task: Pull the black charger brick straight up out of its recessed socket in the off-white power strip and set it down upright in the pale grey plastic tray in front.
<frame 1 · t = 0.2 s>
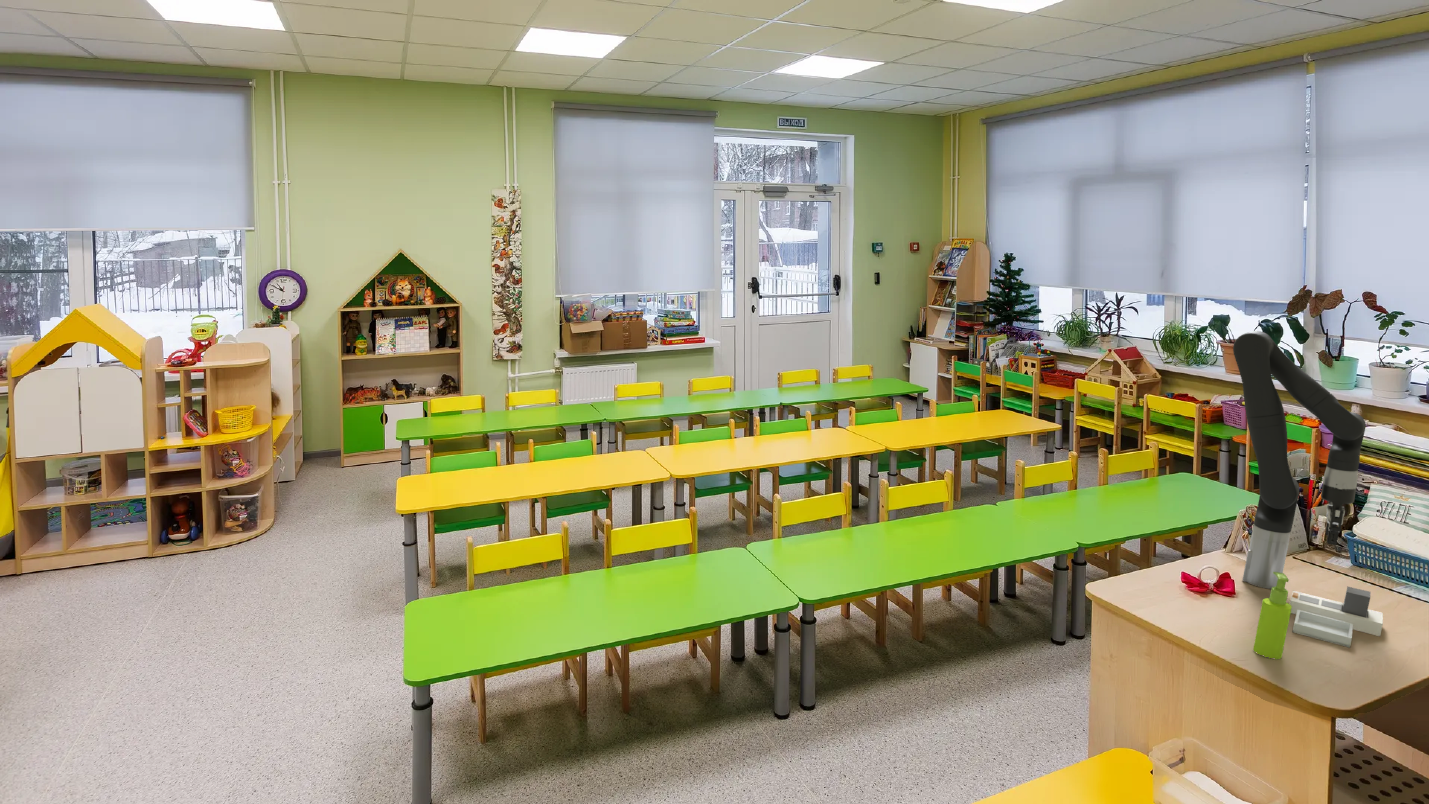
hand: (1330, 539, 238), 18 cm above the table, tool pointing down, fingers open, 8 cm apart
soap dispenser: (1266, 653, 207), on the table
power strip: (1333, 618, 228), on the table
charger: (1353, 616, 225), point 2 cm above the table, touching power strip
tray: (1321, 632, 219), on the table
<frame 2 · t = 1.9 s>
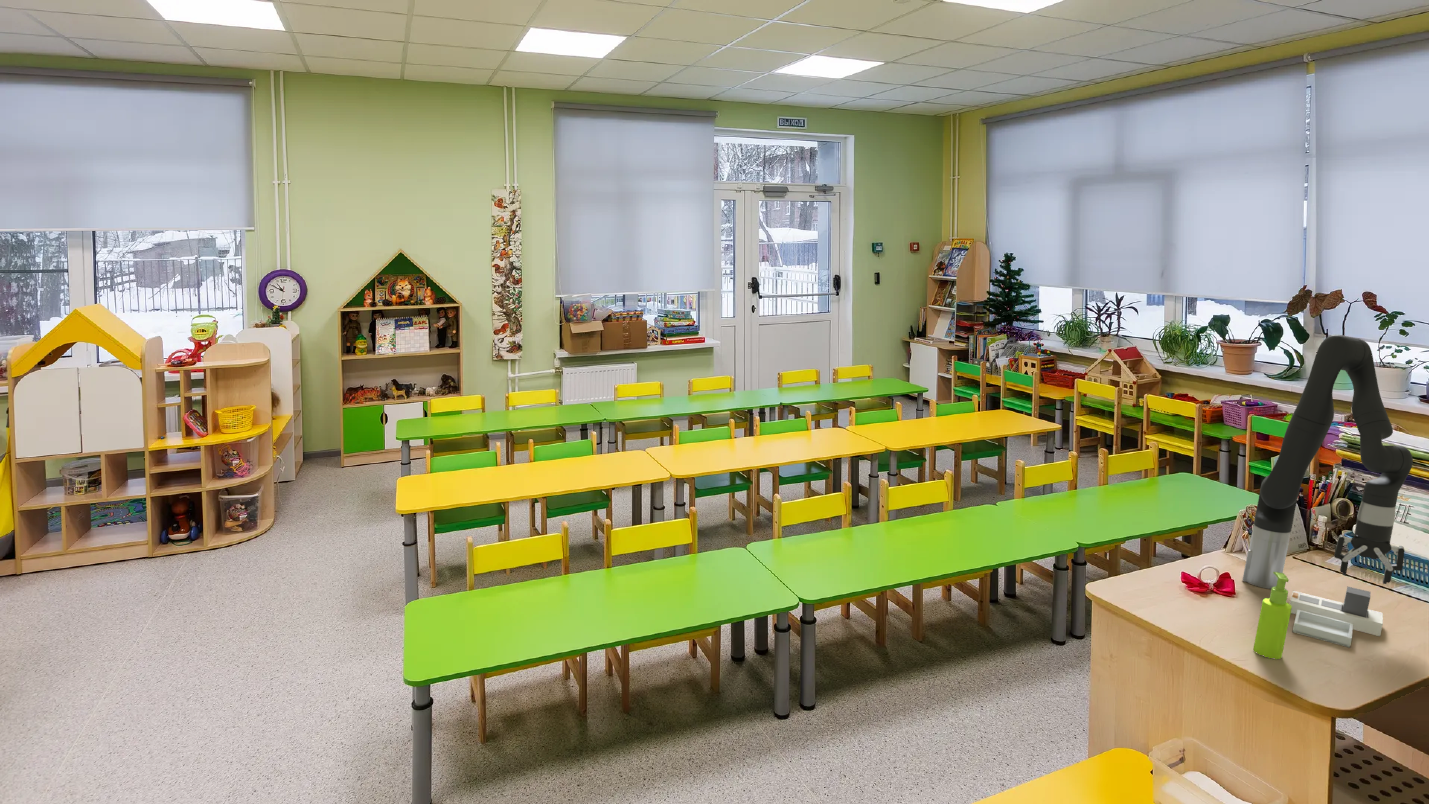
hand: (1364, 578, 223), 13 cm above the table, tool pointing down, fingers open, 8 cm apart
nothing on the table moved.
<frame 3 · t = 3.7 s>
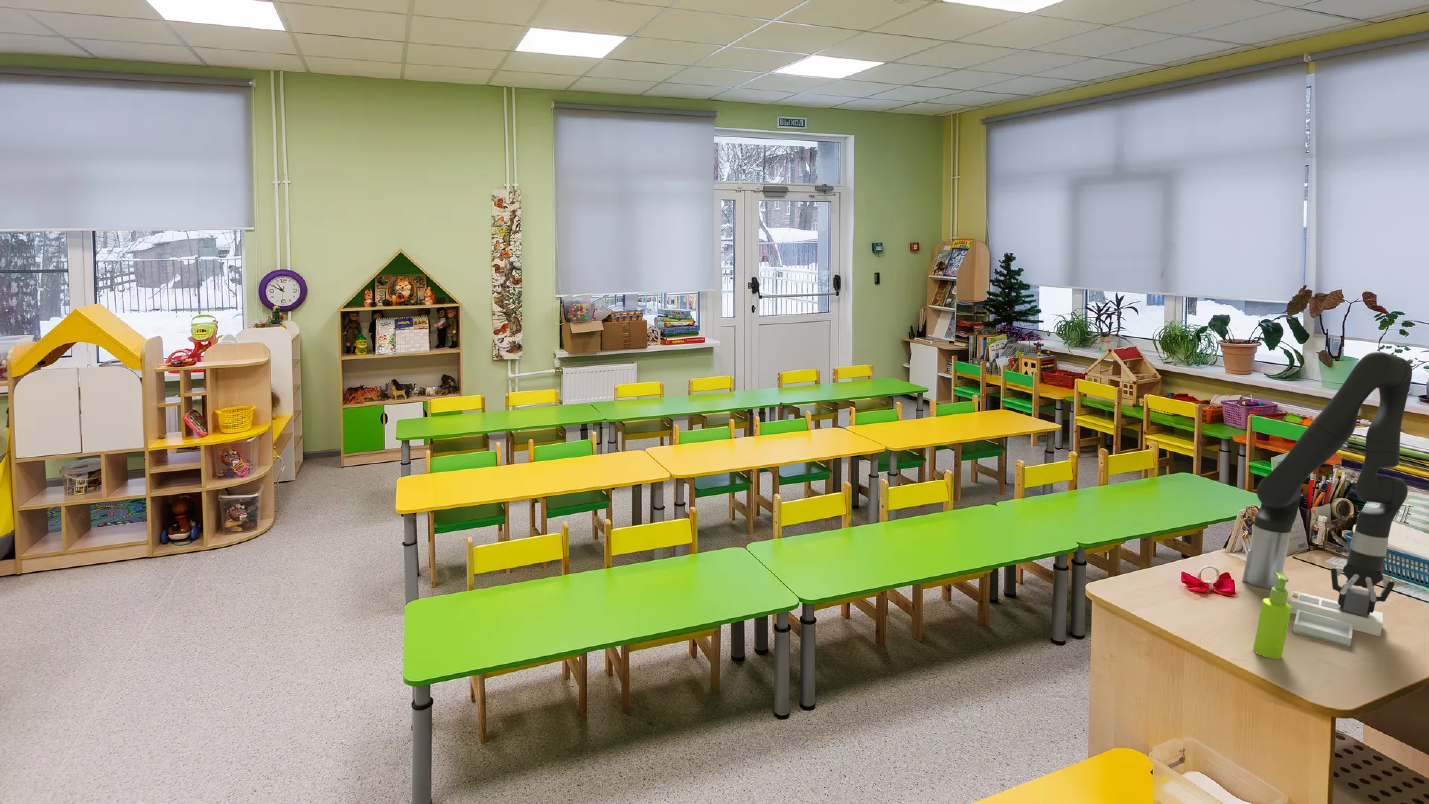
hand: (1354, 609, 225), 4 cm above the table, tool pointing down, fingers closed on charger, 5 cm apart
charger: (1353, 616, 225), point 2 cm above the table, touching gripper, power strip
everything else where it was.
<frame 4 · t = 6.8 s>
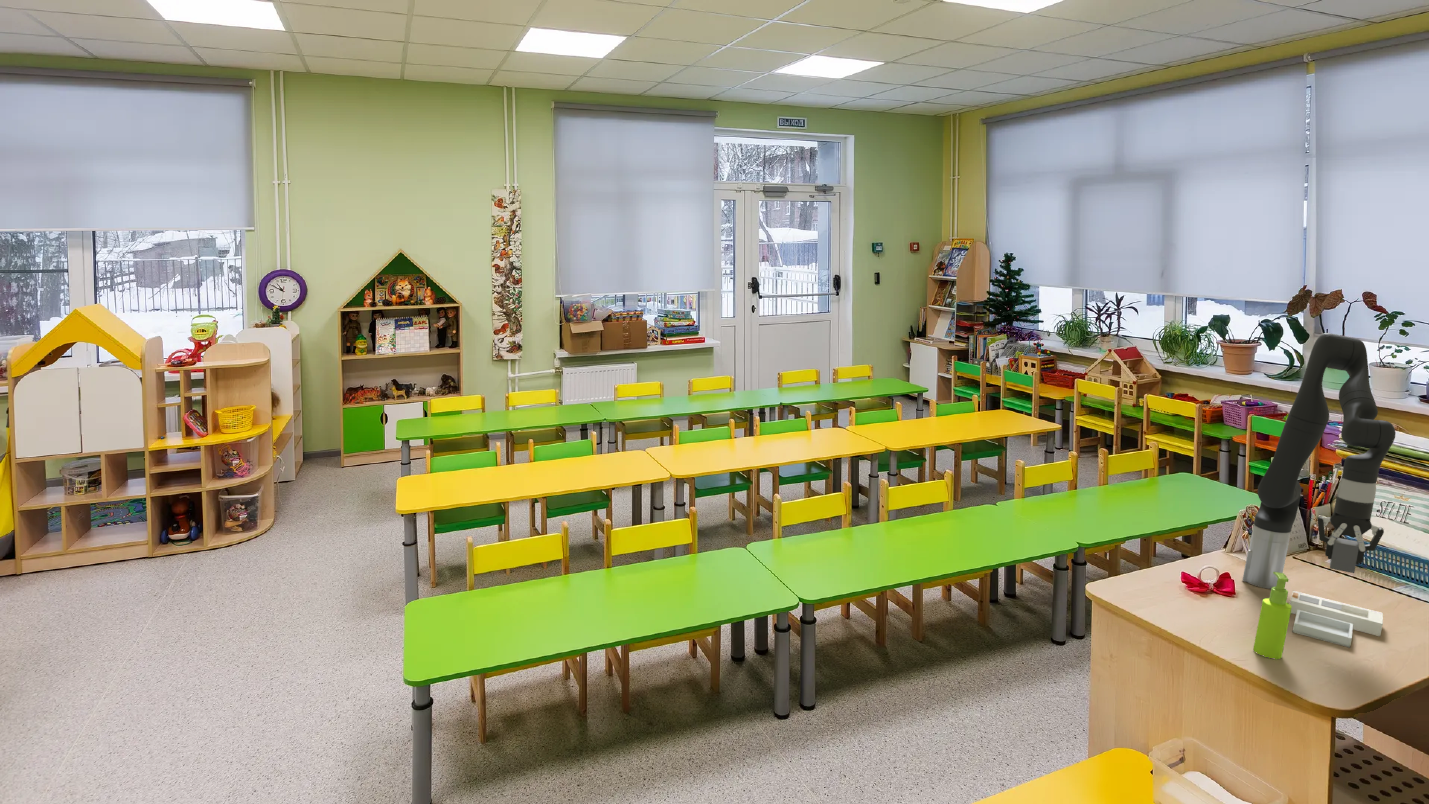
hand: (1343, 560, 216), 20 cm above the table, tool pointing down, fingers closed on charger, 5 cm apart
charger: (1341, 568, 216), point 18 cm above the table, touching gripper
everything else where it was.
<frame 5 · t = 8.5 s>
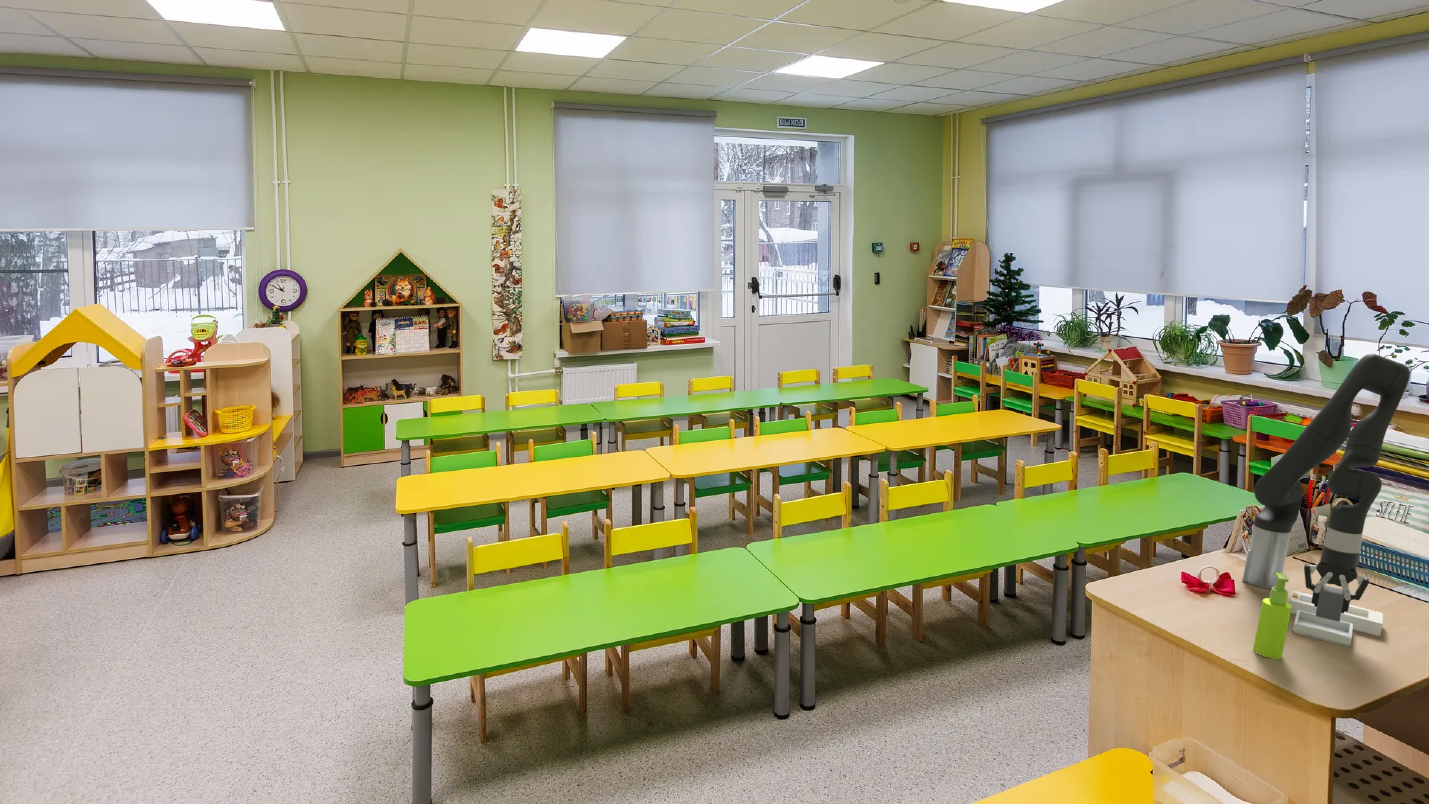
hand: (1329, 608, 218), 7 cm above the table, tool pointing down, fingers closed on charger, 5 cm apart
charger: (1327, 615, 218), point 5 cm above the table, touching gripper
everything else where it was.
when the fingers open (4 cm above the table, at t = 9.8 s): charger drops 1 cm, resting on tray.
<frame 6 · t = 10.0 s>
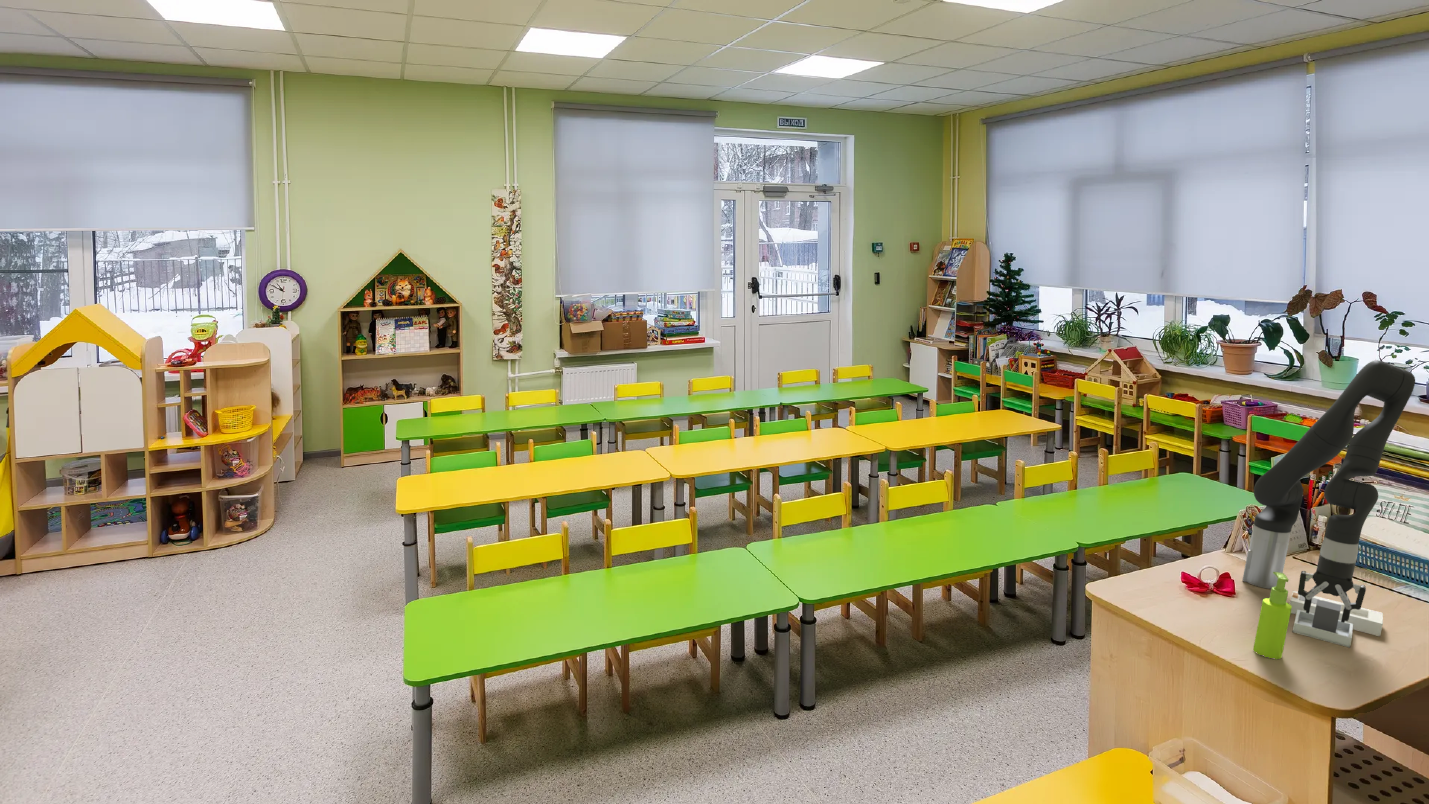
hand: (1325, 616, 218), 4 cm above the table, tool pointing down, fingers open, 7 cm apart
charger: (1323, 630, 219), point 1 cm above the table, touching tray
everything else where it was.
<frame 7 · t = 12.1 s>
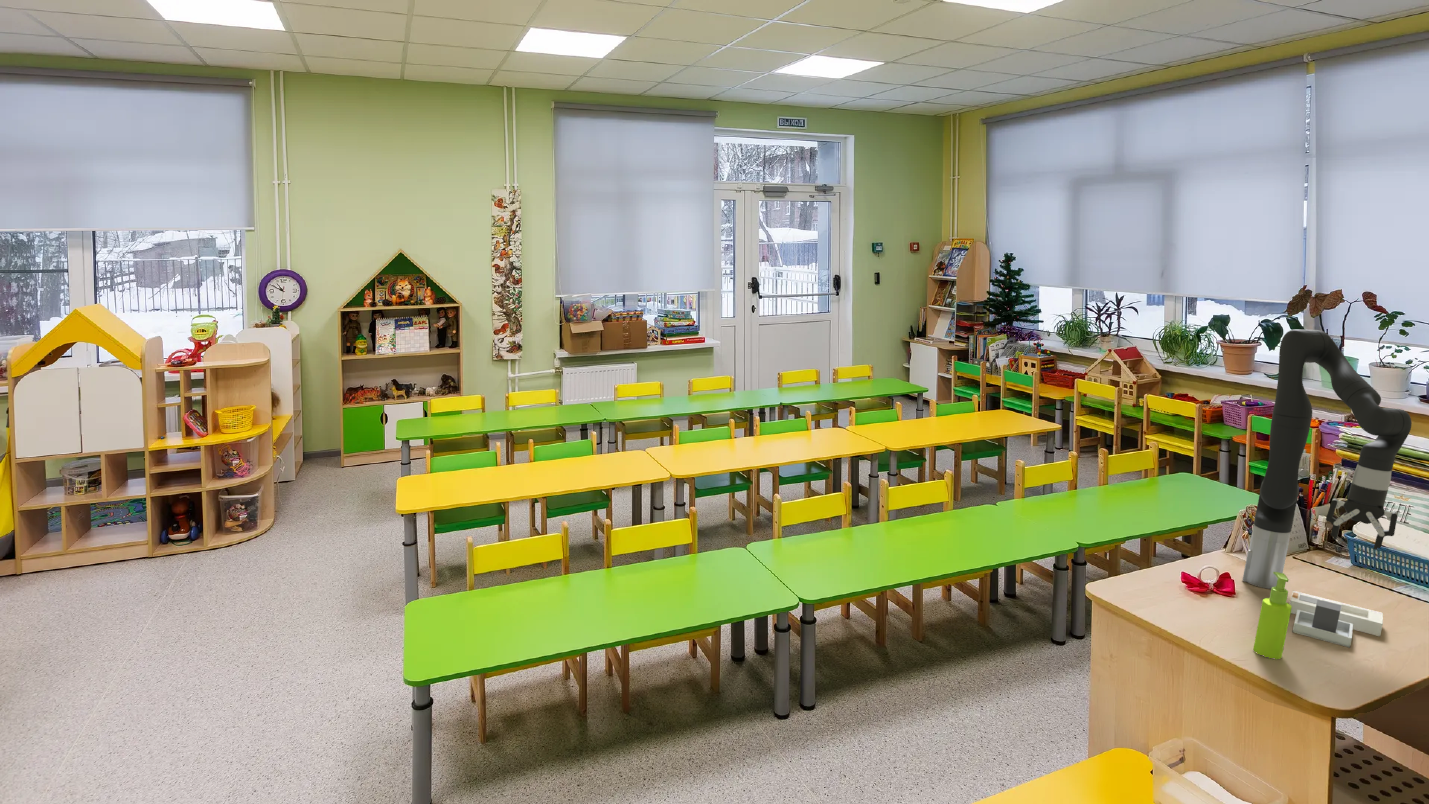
hand: (1354, 543, 220), 23 cm above the table, tool pointing down, fingers open, 8 cm apart
nothing on the table moved.
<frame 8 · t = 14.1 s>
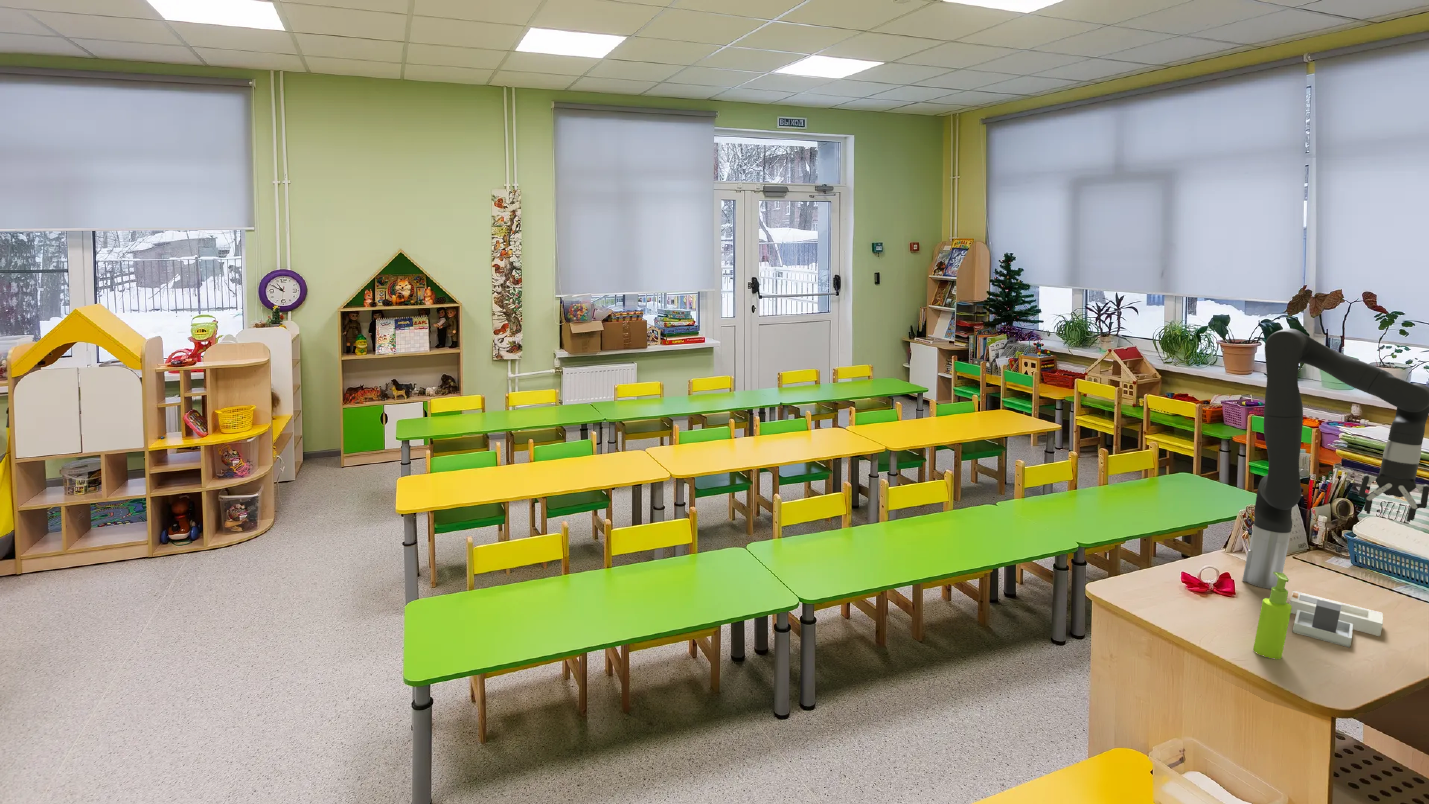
hand: (1387, 517, 226), 28 cm above the table, tool pointing down, fingers open, 8 cm apart
nothing on the table moved.
at the end: charger inside the target area on the tray (0.2 cm from its centre), point 0.6 cm above the tray's base; charger touching tray; charger tilted 0° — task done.
